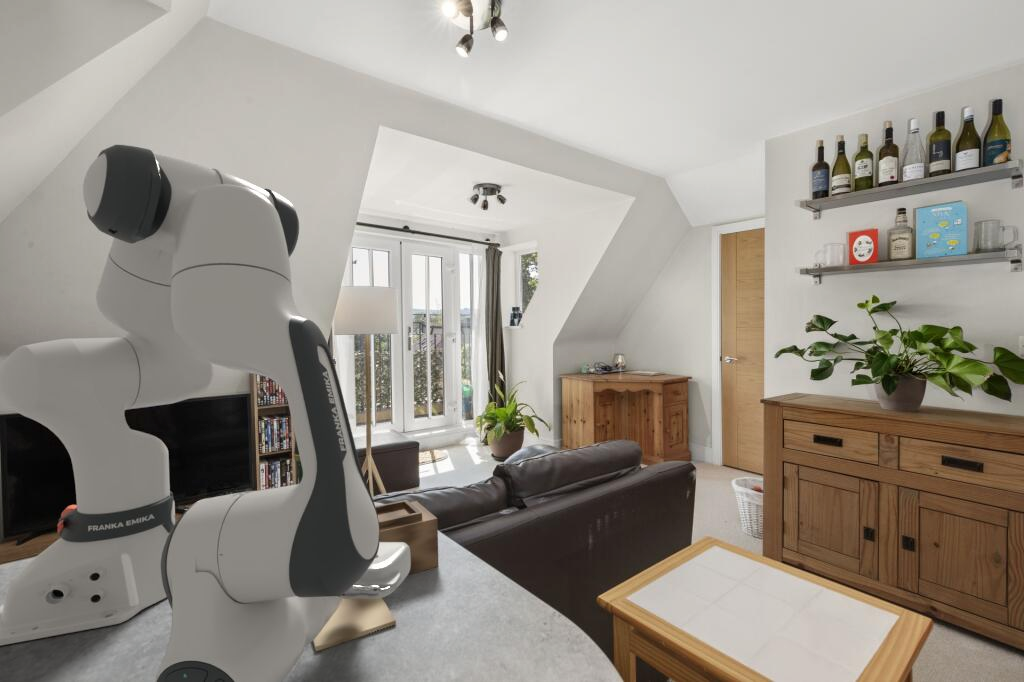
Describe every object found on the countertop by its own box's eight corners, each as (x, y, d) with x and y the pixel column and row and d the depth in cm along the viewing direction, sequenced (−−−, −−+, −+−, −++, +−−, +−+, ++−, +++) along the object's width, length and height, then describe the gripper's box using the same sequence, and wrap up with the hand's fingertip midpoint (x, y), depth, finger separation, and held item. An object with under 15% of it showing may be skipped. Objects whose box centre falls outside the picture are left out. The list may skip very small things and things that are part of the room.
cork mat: (316, 651, 59) (315, 646, 59) (303, 611, 68) (303, 607, 68) (395, 624, 65) (395, 620, 65) (375, 591, 73) (375, 587, 73)
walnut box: (365, 587, 74) (363, 528, 74) (350, 561, 83) (348, 508, 83) (438, 566, 81) (437, 512, 80) (417, 544, 89) (416, 495, 89)
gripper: (391, 564, 52) (423, 516, 66) (210, 563, 54) (278, 516, 68) (393, 622, 52) (424, 562, 66) (212, 619, 54) (280, 561, 68)
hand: (350, 538), depth 67 cm, fingers closed on stopper cap, 5 cm apart
